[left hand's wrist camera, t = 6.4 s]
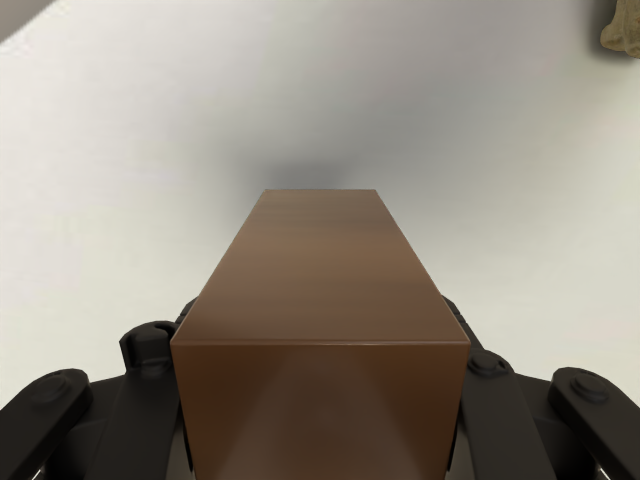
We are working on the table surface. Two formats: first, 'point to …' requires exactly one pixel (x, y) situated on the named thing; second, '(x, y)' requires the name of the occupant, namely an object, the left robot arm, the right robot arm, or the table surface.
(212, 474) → the bar
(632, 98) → the table surface
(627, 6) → the sculpture
